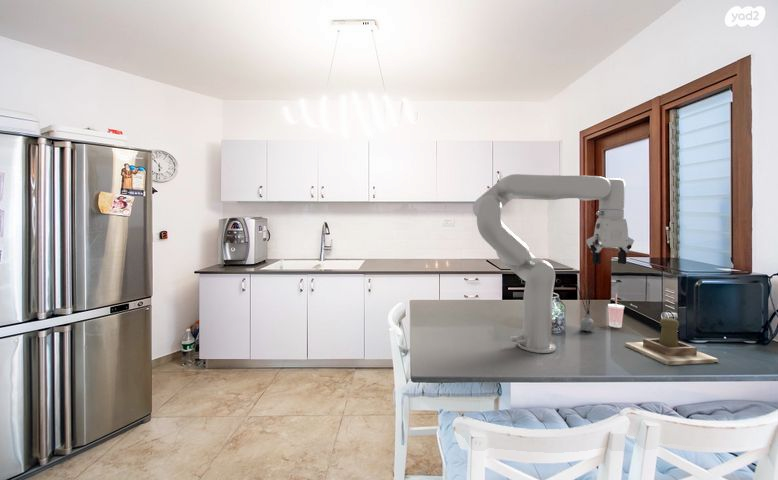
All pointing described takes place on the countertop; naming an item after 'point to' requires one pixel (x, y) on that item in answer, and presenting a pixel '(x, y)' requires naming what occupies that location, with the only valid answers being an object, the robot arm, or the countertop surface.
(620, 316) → the beverage cup
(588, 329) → the reed diffuser
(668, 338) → the cork
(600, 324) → the countertop surface
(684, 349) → the socket board
